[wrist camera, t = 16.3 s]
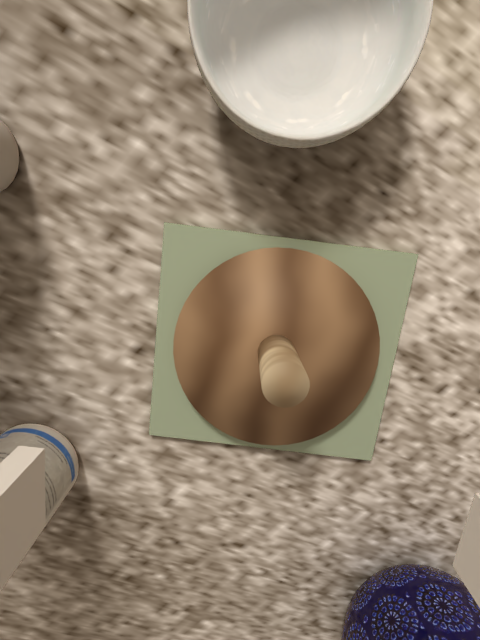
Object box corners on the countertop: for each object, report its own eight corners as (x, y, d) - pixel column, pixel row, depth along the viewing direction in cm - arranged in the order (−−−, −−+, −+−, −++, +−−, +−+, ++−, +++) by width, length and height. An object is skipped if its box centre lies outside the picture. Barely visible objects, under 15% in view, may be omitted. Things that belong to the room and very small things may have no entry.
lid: (168, 427, 37) (143, 486, 28) (184, 234, 33) (162, 231, 24) (354, 449, 37) (389, 514, 28) (394, 261, 33) (450, 267, 24)
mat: (150, 431, 38) (148, 434, 37) (165, 222, 33) (164, 222, 33) (369, 457, 38) (371, 460, 38) (415, 253, 34) (418, 254, 33)
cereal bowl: (349, 187, 32) (378, 172, 26) (176, 128, 32) (157, 96, 25) (425, -20, 29) (482, -103, 22) (233, -94, 28) (229, -204, 21)
